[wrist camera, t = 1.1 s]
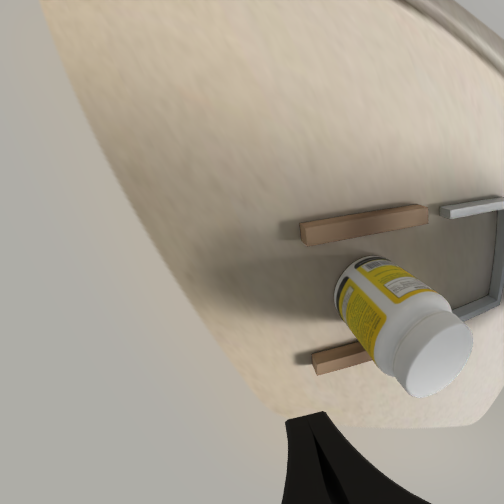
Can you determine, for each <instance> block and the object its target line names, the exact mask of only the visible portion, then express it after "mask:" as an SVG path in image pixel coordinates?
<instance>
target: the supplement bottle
mask: <svg viewBox="0 0 504 504" xmlns="http://www.w3.org/2000/svg"><path fill="white" fill-rule="evenodd" d="M334 303H335V307H336V309H337V312H338V313H339V315H340V316H341V318H342V319H343V321H344V322H345V323H346V325H347V326H348V327H349V329H350V330H351V331H352V333H353V334H354V335H355V337H356V338H357V339H358V341H359V342H360V343H361V345H362V346H363V347H364V349H365V350H366V351H367V353H368V354H369V356H370V357H371V358H372V360H373V361H374V363H375V364H376V365H377V367H378V368H379V369H380V370H381V371H382V372H384V373H385V374H387V375H389V376H392V377H396V379H397V380H398V382H399V383H400V384H401V385H402V387H403V388H404V389H405V390H406V391H407V393H408V394H410V395H411V396H413V397H417V398H423V397H427V396H430V395H433V394H435V393H437V392H439V391H440V390H442V389H443V388H445V387H446V386H447V385H448V384H450V383H451V382H452V381H453V380H454V379H455V378H456V377H457V375H458V374H459V373H460V372H461V370H462V369H463V367H464V366H465V364H466V362H467V361H468V359H469V356H470V354H471V351H472V347H473V334H472V331H471V329H470V328H469V327H468V326H467V325H466V324H465V323H464V322H463V321H461V320H460V319H459V318H458V317H457V316H456V315H455V314H453V313H452V310H451V307H450V305H449V303H448V302H447V301H446V299H445V298H444V297H443V296H441V295H440V294H439V293H437V292H436V291H434V290H433V289H431V288H430V287H429V286H427V285H426V284H424V283H423V282H421V281H420V280H418V279H417V278H415V277H414V276H412V275H411V274H409V273H408V272H406V271H405V270H403V269H402V268H400V267H399V266H397V265H396V264H394V263H392V262H391V261H389V260H388V259H386V258H383V257H380V256H367V257H363V258H361V259H359V260H357V261H355V262H354V263H352V264H351V265H350V266H349V267H348V268H347V269H346V270H345V271H344V272H343V274H342V275H341V277H340V279H339V280H338V282H337V285H336V288H335V292H334Z"/></svg>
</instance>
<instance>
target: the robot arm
mask: <svg viewBox="0 0 504 504" xmlns="http://www.w3.org/2000/svg"><path fill="white" fill-rule="evenodd" d="M285 425H286V432H287V438H288V462H287V475H286V481H285V487H284V494H283V499H282V504H431V503H429V502H427V501H425V500H423V499H421V498H419V497H418V496H416V495H414V494H412V493H410V492H409V491H407V490H406V489H404V488H402V487H401V486H399V485H398V484H396V483H395V482H394V481H392V480H391V479H389V478H388V477H387V476H385V475H384V474H383V473H381V472H380V471H379V470H378V469H377V468H375V467H374V466H373V465H372V464H371V463H370V462H369V461H368V460H366V459H365V458H364V457H363V456H362V455H361V454H360V453H359V452H358V451H357V450H356V449H355V448H354V447H353V446H352V445H351V444H350V443H349V442H348V440H347V439H346V438H345V437H344V436H343V435H342V433H341V432H340V431H339V430H338V429H337V427H336V426H335V425H334V424H333V422H332V421H331V419H330V418H329V417H328V415H327V414H326V412H323V411H322V412H318V413H314V414H310V415H306V416H302V417H297V418H293V419H288V420H287V421H286V422H285Z"/></svg>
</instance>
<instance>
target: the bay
mask: <svg viewBox="0 0 504 504" xmlns="http://www.w3.org/2000/svg"><path fill="white" fill-rule="evenodd" d="M496 210H498V215H497V233H496V245H495V255H494V263H493V271H492V278H491V284H490V290H489V295H488V296H486V297H483V298H481V299H479V300H476V301H474V302H472V303H469V304H467V305H464V306H462V307H459V308H457V309H454V310H452V313H453V314H455V315H456V316H457V317H458V318H459V319H460V320H461V321H463V322H464V321H466V320H469V319H471V318H473V317H475V316H477V315H480V314H482V313H484V312H486V311H488V310H490V309H492V308H494V307H496V306H498V305H500V301H501V296H502V291H503V285H504V197H499V198H492V199H486V200H479V201H473V202H467V203H460V204H454V205H448V206H441V207H440V216H442V217H445V218H448V219H455V218H460V217H465V216H470V215H475V214H480V213H486V212H491V211H496Z"/></svg>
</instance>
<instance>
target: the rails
mask: <svg viewBox="0 0 504 504" xmlns="http://www.w3.org/2000/svg"><path fill="white" fill-rule="evenodd" d="M299 224H300V232H301V241H302V242H303V243H304V244H305V245H306V246H307V247H308V246H313V245H318V244H324V243H329V242H334V241H340V240H345V239H350V238H356V237H361V236H366V235H371V234H377V233H382V232H387V231H392V230H398V229H403V228H408V227H413V226H418V225H424V224H428V207H424V206H421V205H418V204H416V205H409V206H402V207H396V208H390V209H383V210H377V211H371V212H364V213H358V214H352V215H346V216H340V217H334V218H328V219H322V220H316V221H310V222H304V223H299ZM371 360H372V358H371V357H370V356H369V354H368V353H367V351H366V350H365V349H364V347H363V346H362V345H361V343H360V342H356V343H352V344H349V345H345V346H341V347H338V348H334V349H330V350H326V351H322V352H318V353H314V354H312V365H313V367H314V369H315V372H316V374H317V375H321V374H325V373H329V372H333V371H336V370H340V369H344V368H347V367H351V366H354V365H357V364H361V363H364V362H367V361H371Z"/></svg>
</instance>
